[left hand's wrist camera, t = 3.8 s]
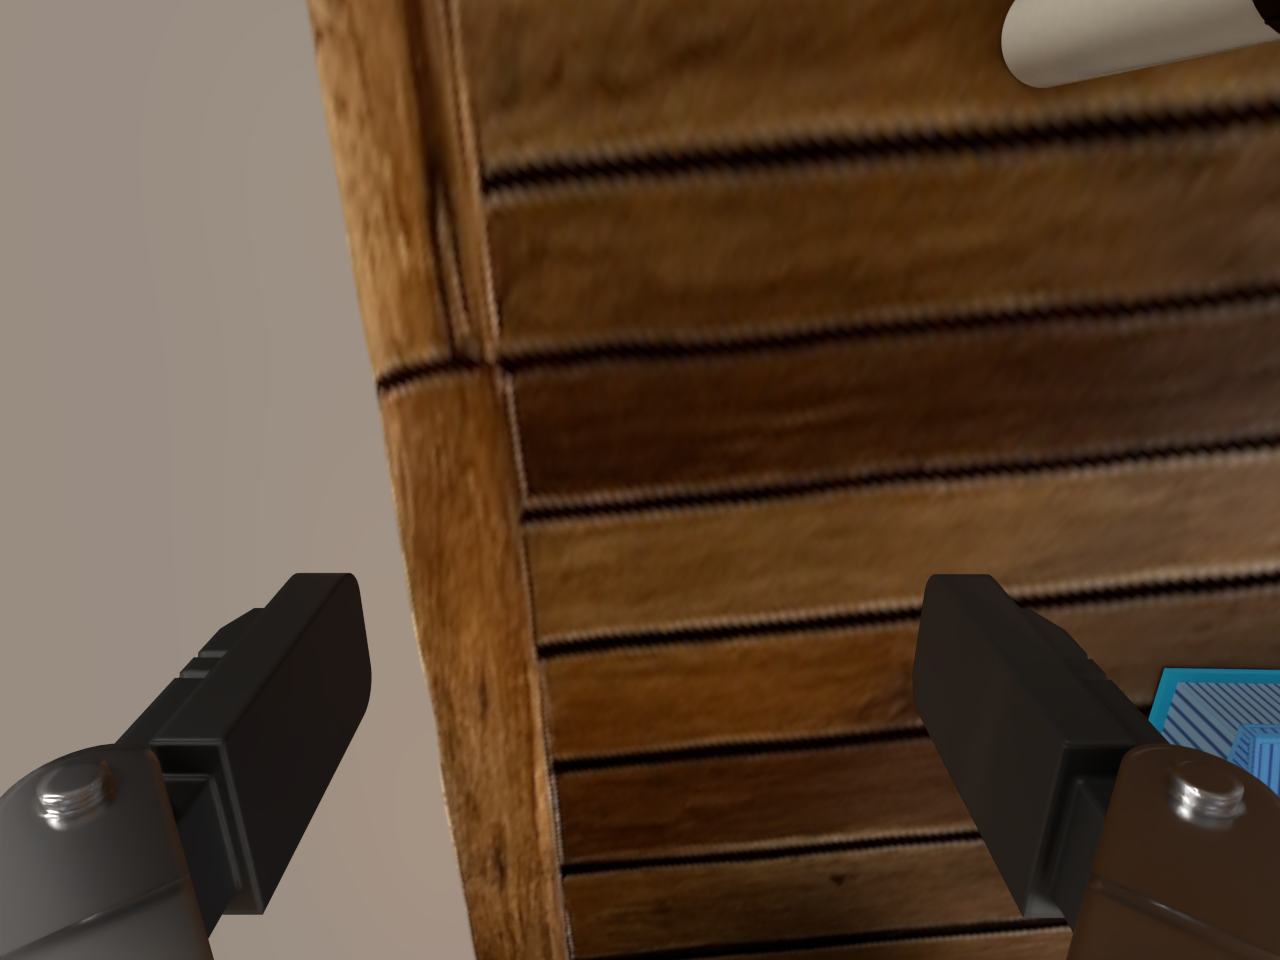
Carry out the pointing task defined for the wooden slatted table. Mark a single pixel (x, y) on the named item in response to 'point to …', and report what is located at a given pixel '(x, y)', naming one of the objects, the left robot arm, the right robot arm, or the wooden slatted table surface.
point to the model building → (1224, 716)
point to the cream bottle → (1121, 35)
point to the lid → (1269, 12)
